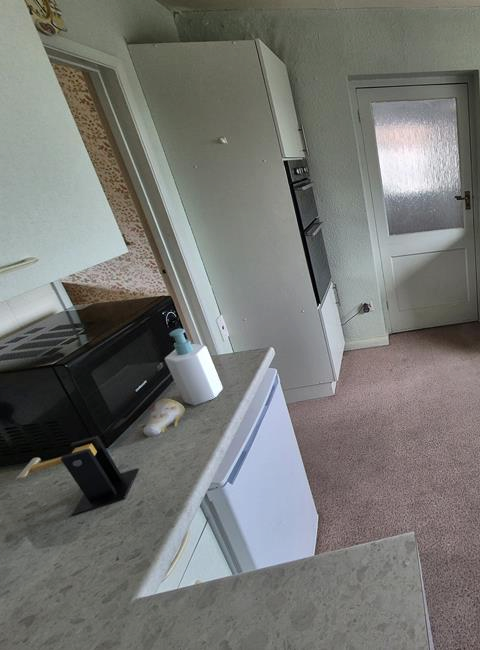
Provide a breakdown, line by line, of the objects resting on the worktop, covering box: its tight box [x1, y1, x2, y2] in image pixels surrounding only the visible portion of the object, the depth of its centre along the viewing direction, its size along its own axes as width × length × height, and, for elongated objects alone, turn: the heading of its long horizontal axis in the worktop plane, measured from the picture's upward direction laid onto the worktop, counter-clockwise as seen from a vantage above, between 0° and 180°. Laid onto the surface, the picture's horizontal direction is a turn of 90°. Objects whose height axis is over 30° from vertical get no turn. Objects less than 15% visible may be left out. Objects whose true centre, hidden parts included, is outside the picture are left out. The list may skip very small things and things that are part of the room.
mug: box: [142, 398, 186, 437], centre depth 103 cm, size 8×10×10 cm
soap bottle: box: [164, 328, 224, 406], centre depth 111 cm, size 10×9×22 cm
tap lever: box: [15, 443, 97, 484], centre depth 77 cm, size 11×6×2 cm, turn 112°
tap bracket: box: [61, 435, 140, 517], centre depth 81 cm, size 9×9×14 cm
